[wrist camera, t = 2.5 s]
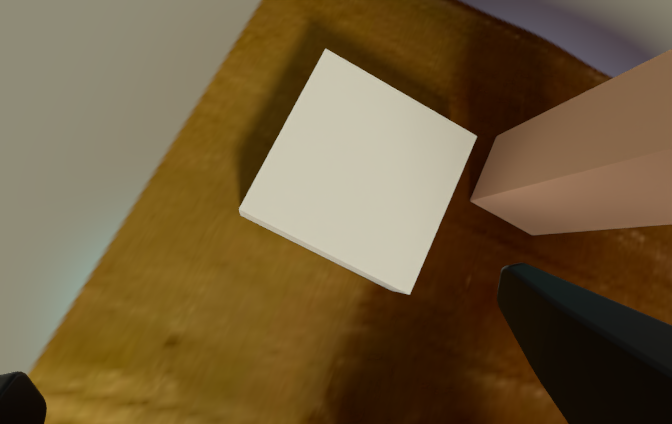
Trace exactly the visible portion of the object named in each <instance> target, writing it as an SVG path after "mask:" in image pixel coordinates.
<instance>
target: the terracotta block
mask: <svg viewBox="0 0 672 424" xmlns="http://www.w3.org/2000/svg"><path fill="white" fill-rule="evenodd" d="M470 201H471V202H473V203H474V204H476V205H478V206H480V207H482V208H483V209H485V210H487V211H489V212H491V213H493V214H494V215H496V216H498V217H500V218H502V219H503V220H505V221H507V222H509V223H511V224H512V225H514V226H516V227H518V228H520V229H522V230H523V231H525V232H527V233H529V234H531V235H542V234H555V233H567V232H580V231H592V230H605V229H617V228H630V227H642V226H655V225H667V224H672V49H671V50H669V51H667V52H665V53H663V54H661V55H659V56H657V57H655V58H653V59H651V60H649V61H647V62H645V63H643V64H641V65H639V66H637V67H635V68H633V69H631V70H629V71H627V72H625V73H623V74H621V75H619V76H616V77H614V78H612V79H610V80H608V81H606V82H604V83H602V84H600V85H598V86H596V87H594V88H592V89H590V90H588V91H586V92H584V93H582V94H580V95H578V96H576V97H574V98H572V99H570V100H568V101H566V102H564V103H562V104H560V105H558V106H556V107H554V108H552V109H550V110H548V111H546V112H544V113H542V114H540V115H538V116H536V117H534V118H532V119H530V120H528V121H526V122H524V123H522V124H520V125H518V126H516V127H514V128H512V129H510V130H508V131H506V132H504V133H502V134H500V135H498V136H496V139H495V141H494V144H493V146H492V149H491V151H490V153H489V156H488V158H487V161H486V163H485V165H484V168H483V170H482V173H481V175H480V177H479V180H478V182H477V185H476V187H475V190H474V192H473V194H472V197H471V199H470Z"/></svg>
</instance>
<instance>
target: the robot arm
mask: <svg viewBox="0 0 672 424" xmlns="http://www.w3.org/2000/svg"><path fill="white" fill-rule="evenodd" d="M497 302H498V305H499V308H500V310H501V312H502V314H503V315H504V317H505V319H506V321H507V323H508V325H509V327H510V328H511V330H512V332H513V334H514V336H515V338H516V340H517V341H518V343H519V345H520V347H521V349H522V351H523V352H524V354H525V356H526V358H527V360H528V362H529V364H530V365H531V367H532V369H533V370H534V372H535V374H536V375H537V377H538V379H539V380H540V382H541V383H542V385H543V386H544V388H545V389H546V391H547V392H548V394H549V395H550V397H551V398H552V400H553V401H554V403H555V404H556V406H557V407H558V408H559V410H560V411H561V413H562V414H563V416H564V417H565V419H566V420H567V422H568V423H569V424H672V325H670V324H667V323H665V322H662V321H660V320H658V319H655V318H653V317H651V316H648V315H646V314H644V313H641V312H639V311H637V310H634V309H632V308H629V307H627V306H625V305H622V304H620V303H618V302H615V301H613V300H611V299H608V298H606V297H603V296H601V295H599V294H596V293H594V292H592V291H589V290H587V289H585V288H582V287H580V286H578V285H575V284H573V283H570V282H568V281H566V280H563V279H561V278H559V277H556V276H554V275H552V274H549V273H547V272H545V271H542V270H540V269H537V268H535V267H533V266H530V265H528V264H525V263H516V264H512V265H507V266H505V267H503V268H502V270H501V274H500V280H499V286H498V292H497ZM46 409H47V407H46V402H45V399H44V398H43V396H42V395H41V393H40V392H39V391H38V389H37V388H36V387H35V385H34V384H33V383H32V381H31V380H30V378H29V377H28V376H27V375H26V374H25V373H23V372H12V373H8V374H3V375H0V424H44V422H45V417H46Z"/></svg>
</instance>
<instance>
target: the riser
mask: <svg viewBox="0 0 672 424" xmlns="http://www.w3.org/2000/svg"><path fill="white" fill-rule="evenodd" d="M476 138H477V136H476V135H474V134H473V133H471V132H469V131H467V130H466V129H464V128H462V127H460V126H459V125H457V124H455V123H454V122H452V121H450V120H448V119H447V118H445V117H443V116H441V115H440V114H438V113H436V112H435V111H433V110H431V109H429V108H428V107H426V106H424V105H422V104H421V103H419V102H417V101H416V100H414V99H412V98H410V97H409V96H407V95H405V94H403V93H402V92H400V91H398V90H397V89H395V88H393V87H391V86H390V85H388V84H386V83H384V82H383V81H381V80H379V79H378V78H376V77H374V76H372V75H371V74H369V73H367V72H365V71H364V70H362V69H360V68H359V67H357V66H355V65H353V64H352V63H350V62H348V61H346V60H345V59H343V58H341V57H340V56H338V55H336V54H334V53H333V52H331V51H329V50H327V49H326V48H325V50H324V52H323V54H322V56H321V58H320V59H319V61H318V63H317V65H316V67H315V69H314V71H313V72H312V74H311V76H310V78H309V80H308V82H307V84H306V85H305V87H304V89H303V91H302V93H301V95H300V97H299V98H298V100H297V102H296V104H295V106H294V108H293V110H292V111H291V113H290V115H289V117H288V119H287V121H286V122H285V124H284V126H283V128H282V130H281V132H280V134H279V135H278V137H277V139H276V141H275V143H274V145H273V147H272V148H271V150H270V152H269V154H268V156H267V158H266V160H265V161H264V163H263V165H262V167H261V169H260V171H259V173H258V174H257V176H256V178H255V180H254V182H253V184H252V185H251V187H250V189H249V191H248V193H247V195H246V197H245V198H244V200H243V202H242V204H241V206H240V208H239V212H240V215H241V216H243V217H245V218H247V219H249V220H251V221H253V222H255V223H257V224H259V225H261V226H263V227H265V228H267V229H269V230H271V231H273V232H275V233H277V234H279V235H281V236H283V237H285V238H287V239H289V240H291V241H293V242H295V243H297V244H299V245H301V246H303V247H305V248H307V249H309V250H311V251H313V252H315V253H317V254H319V255H321V256H323V257H325V258H327V259H329V260H331V261H333V262H335V263H337V264H339V265H341V266H343V267H345V268H347V269H349V270H351V271H353V272H355V273H357V274H359V275H361V276H363V277H365V278H367V279H369V280H371V281H373V282H375V283H377V284H379V285H381V286H383V287H385V288H387V289H389V290H391V291H395V292H400V293H404V294H408V295H410V293H411V291H412V288H413V286H414V284H415V281H416V279H417V277H418V274H419V272H420V270H421V267H422V265H423V263H424V260H425V258H426V256H427V253H428V251H429V249H430V246H431V244H432V241H433V239H434V237H435V234H436V232H437V230H438V227H439V225H440V223H441V220H442V218H443V216H444V213H445V211H446V209H447V206H448V204H449V202H450V199H451V197H452V194H453V192H454V190H455V187H456V185H457V183H458V180H459V178H460V176H461V173H462V171H463V169H464V166H465V164H466V162H467V159H468V157H469V155H470V152H471V150H472V148H473V145H474V143H475V140H476Z"/></svg>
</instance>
